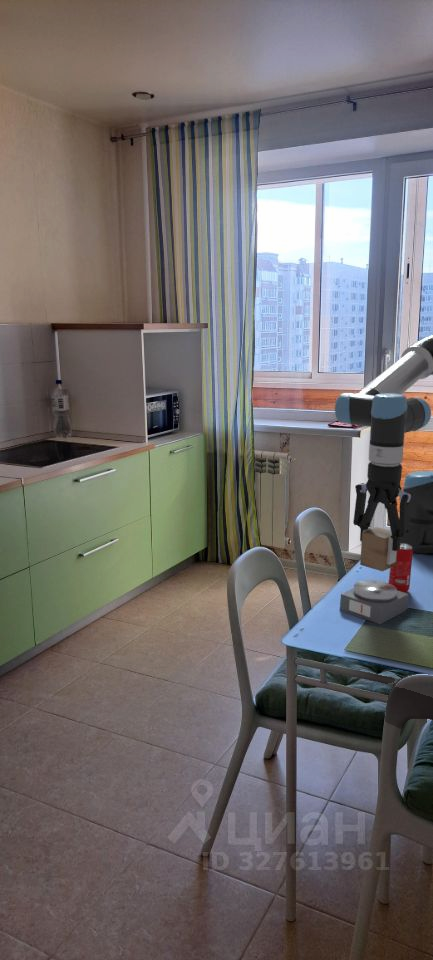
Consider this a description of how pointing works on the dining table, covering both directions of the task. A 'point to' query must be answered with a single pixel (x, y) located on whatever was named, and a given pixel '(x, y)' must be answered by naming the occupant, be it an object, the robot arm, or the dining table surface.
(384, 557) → the walnut block
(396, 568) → the beverage can
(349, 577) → the dining table surface
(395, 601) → the scale base
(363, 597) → the scale pan
